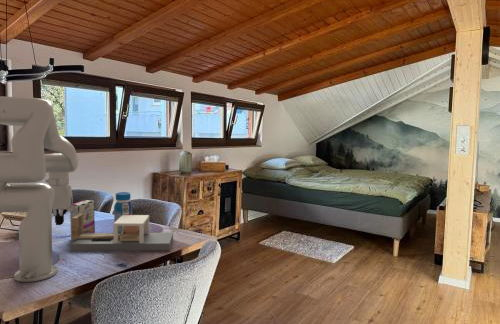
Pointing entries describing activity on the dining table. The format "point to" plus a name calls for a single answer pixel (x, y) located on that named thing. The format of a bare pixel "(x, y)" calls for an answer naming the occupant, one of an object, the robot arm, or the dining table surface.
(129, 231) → the terracotta block
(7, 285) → the dining table surface
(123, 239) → the sled
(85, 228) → the candy bar box
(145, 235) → the track board
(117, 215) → the beverage bottle
